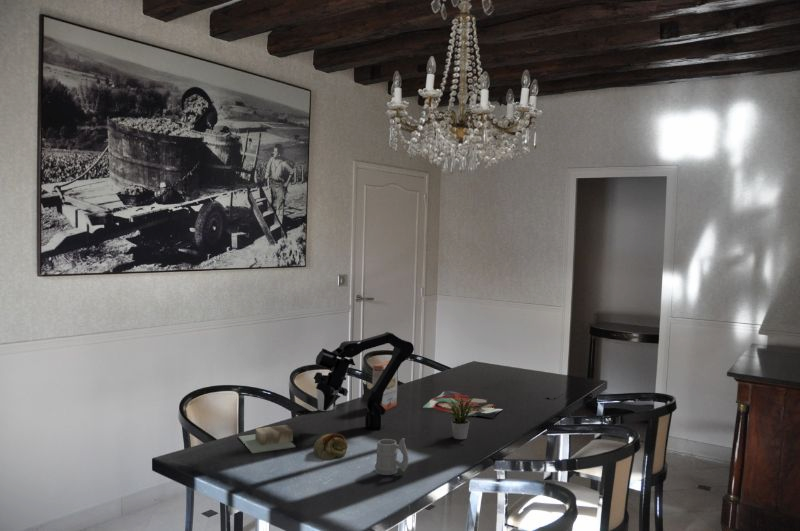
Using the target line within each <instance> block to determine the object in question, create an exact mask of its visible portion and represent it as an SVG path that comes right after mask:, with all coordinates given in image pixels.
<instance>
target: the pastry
mask: <svg viewBox="0 0 800 531" xmlns="http://www.w3.org/2000/svg"><path fill="white" fill-rule="evenodd" d="M348 447H349V446H348V442H347V440H346V438H345V436H344V435H343V434H340V433H334V432H332V433H327V434H324V435H321V436H320V437H319V438H318V439H317V440H316V441H315V443H314V445H313V453H314V455H315V456H316V457H318V458H319V459H320V460H324V461H330V460H334V459H339V458H343V457H345V455H346V453H347V449H348Z"/></svg>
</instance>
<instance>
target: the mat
mask: <svg viewBox="0 0 800 531" xmlns="http://www.w3.org/2000/svg"><path fill="white" fill-rule="evenodd" d="M238 439H239V440H240V441H241V442H242V443H243V445H244V444H245V445H244V446H246V448H247V449H248V450H249V451H250V453H251V454H258V453H265V452H271V451H272V452H273V451H277V450H285V449H286V450H287V449H291V448H296V445H295V444H294V443H293V441H288V442H281V443H274V444H267V445H261V444H260V443H259V442H258V441H257V440H256V439H255V433H254V434H248V435H239V436H238Z"/></svg>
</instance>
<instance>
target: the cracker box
mask: <svg viewBox="0 0 800 531" xmlns="http://www.w3.org/2000/svg"><path fill="white" fill-rule="evenodd" d="M389 361H390V360H386V361H383V362H379V363H377V364H372V385H371V386H372V387H374V385H375V384H376V382H377V380H378V379H379V377H380V376H381V374H382V372H383V371H384V369H385V368H386V366H387V364H388V363H389ZM398 373H399V369H398V370H397V371H396V373H395V375H394V376H393V378H392V379H391V381H390V383H389V384H388V386H387V388H386V389H385V391H384V393H383V399H382V402H381V404H380V405H381V406H383V407H384V408H385V412H386V411H388V410H390V409H393V408H395V407H397V403H398V402H397V398H398V396H397V395H398ZM372 387H371V388H372Z"/></svg>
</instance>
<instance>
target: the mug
mask: <svg viewBox="0 0 800 531" xmlns="http://www.w3.org/2000/svg"><path fill="white" fill-rule="evenodd" d="M398 450H400V453H401V454H402V461H400V460H398ZM375 452H376V462H375V464H374V469H375V472H376V473H377V474H379V475H382V476H383V475H384V476H391V475H395V474H397V472H398V469H399V468H400V470H401V471H402V472H406V469H407V468H408V466H409V453H408V450H407V446H406V443H405V438H404V437H402V438H401V439H400V440H399V443H398V444H397V440H395V439H389V438H383V439H380V440H378V441H377V444H376V450H375Z"/></svg>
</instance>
